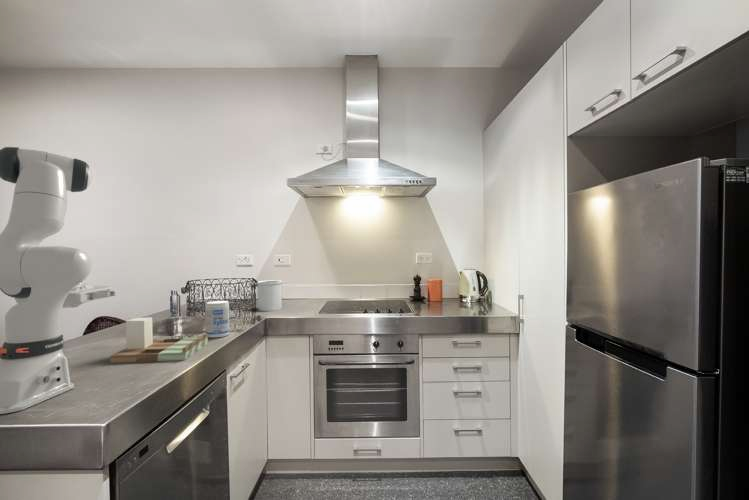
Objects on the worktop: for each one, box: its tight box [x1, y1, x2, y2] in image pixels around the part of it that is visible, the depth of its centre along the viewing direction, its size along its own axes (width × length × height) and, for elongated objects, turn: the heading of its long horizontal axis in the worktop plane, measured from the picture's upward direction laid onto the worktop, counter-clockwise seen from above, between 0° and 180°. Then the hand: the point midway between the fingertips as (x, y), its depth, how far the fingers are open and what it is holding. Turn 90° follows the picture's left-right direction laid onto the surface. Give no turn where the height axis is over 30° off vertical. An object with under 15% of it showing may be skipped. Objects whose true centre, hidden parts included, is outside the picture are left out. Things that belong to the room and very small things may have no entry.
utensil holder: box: [256, 279, 283, 312], centre depth 229 cm, size 15×15×18 cm
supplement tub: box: [204, 300, 230, 339], centre depth 161 cm, size 10×10×15 cm
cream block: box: [125, 317, 154, 349], centre depth 135 cm, size 6×6×10 cm
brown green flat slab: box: [109, 332, 209, 364], centre depth 136 cm, size 22×24×4 cm
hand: (112, 294), depth 134 cm, fingers closed
